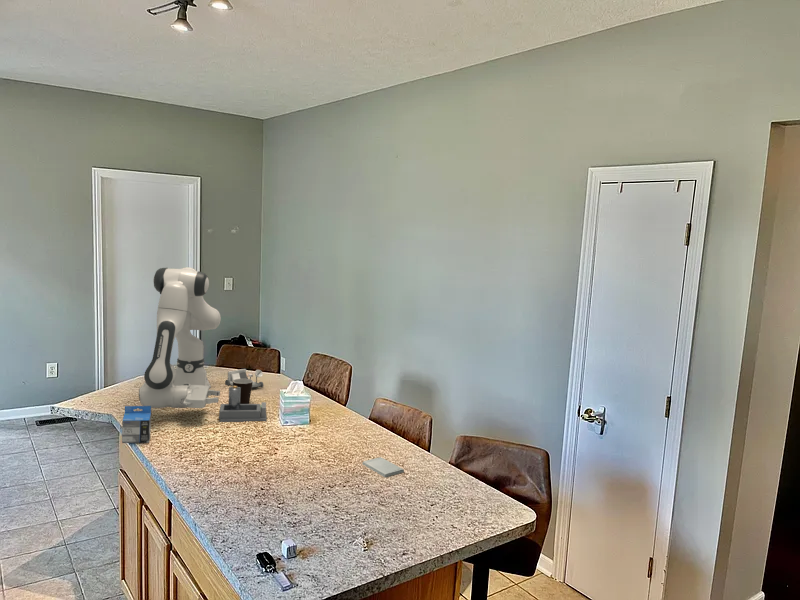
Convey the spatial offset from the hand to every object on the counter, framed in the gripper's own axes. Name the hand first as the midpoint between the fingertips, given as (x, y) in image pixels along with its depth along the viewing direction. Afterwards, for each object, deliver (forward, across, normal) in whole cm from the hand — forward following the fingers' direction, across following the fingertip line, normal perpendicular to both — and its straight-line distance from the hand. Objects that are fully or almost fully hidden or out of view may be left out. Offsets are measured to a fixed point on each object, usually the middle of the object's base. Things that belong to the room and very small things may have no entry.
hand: (219, 396), depth 233 cm
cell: (+6, 0, +8) cm, 10 cm away
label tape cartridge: (-26, -26, +9) cm, 38 cm away
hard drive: (+57, -56, +10) cm, 80 cm away
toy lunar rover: (+10, +47, +9) cm, 49 cm away
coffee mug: (+9, +21, +9) cm, 24 cm away
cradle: (+10, 0, +9) cm, 13 cm away
